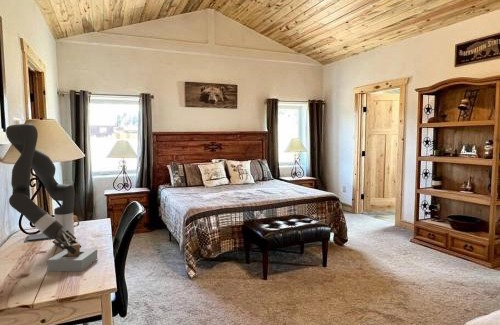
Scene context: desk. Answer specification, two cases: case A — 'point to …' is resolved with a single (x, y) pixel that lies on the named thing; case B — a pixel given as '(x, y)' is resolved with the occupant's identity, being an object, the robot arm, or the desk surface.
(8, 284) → the desk surface
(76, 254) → the peg
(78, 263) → the socket block
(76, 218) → the lion figurine
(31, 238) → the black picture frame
